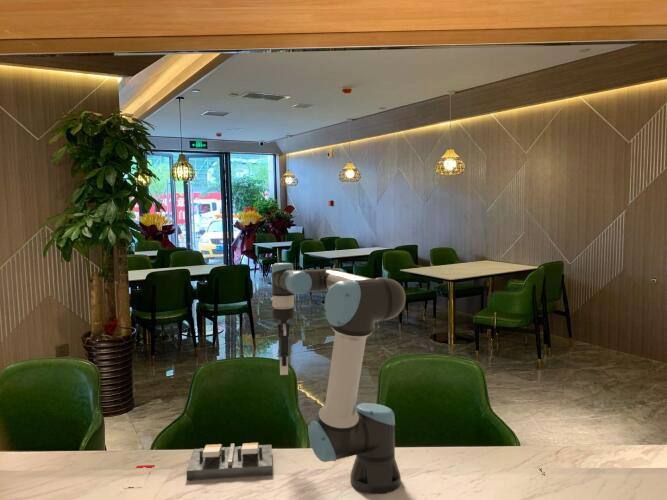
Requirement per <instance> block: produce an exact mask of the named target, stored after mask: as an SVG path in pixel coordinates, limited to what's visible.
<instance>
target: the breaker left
mask: <svg viewBox="0 0 667 500" xmlns="http://www.w3.org/2000/svg"><path fill="white" fill-rule="evenodd" d="M222 447H223V444H221V443H218V444H205V446H204V451H203V457H217V456H219V455H220V452H221V449H222Z"/></svg>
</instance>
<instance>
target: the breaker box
mask: <svg viewBox="0 0 667 500" xmlns="http://www.w3.org/2000/svg"><path fill="white" fill-rule="evenodd" d="M204 449H205V447H204V448H203V447H201V448H193V451H192V453H191V456H190V459H189V462H188V466H187V469H186V481H199V480H201V481H202V480H215V479H231V478H245V477H246V478H247V477H248V478H249V477H258V476H259V477H262V476H272V475H273V459H272V457H273V452H272V451H273V450H272V444H258V453H255V454H242V446H241V445H239V446H235V443H230V446H226V447H225V446H222V449H221V452H220V455H219V456H217V457H203V451H204Z"/></svg>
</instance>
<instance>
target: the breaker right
mask: <svg viewBox="0 0 667 500" xmlns="http://www.w3.org/2000/svg"><path fill="white" fill-rule="evenodd" d="M258 445H259V442H249V443H248V442H247V443H246V442H245V443H242V454H255V453H258Z"/></svg>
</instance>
